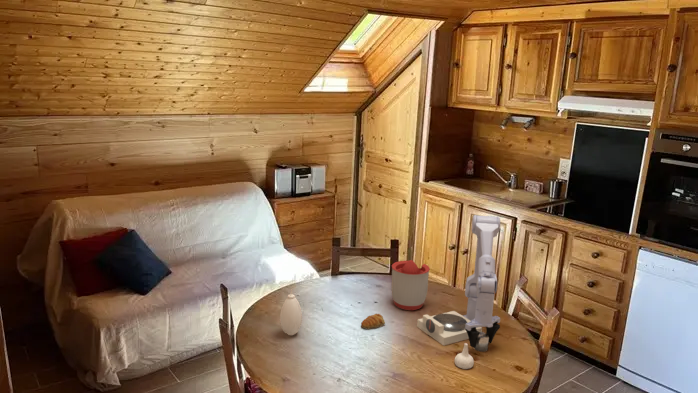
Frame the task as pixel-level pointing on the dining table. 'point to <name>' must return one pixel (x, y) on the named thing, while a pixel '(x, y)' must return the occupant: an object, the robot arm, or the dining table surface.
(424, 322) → the base
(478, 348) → the cylinder
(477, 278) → the robot arm
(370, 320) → the pastry
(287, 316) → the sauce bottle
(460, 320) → the pan
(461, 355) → the garlic bulb
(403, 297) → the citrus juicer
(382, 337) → the dining table surface
